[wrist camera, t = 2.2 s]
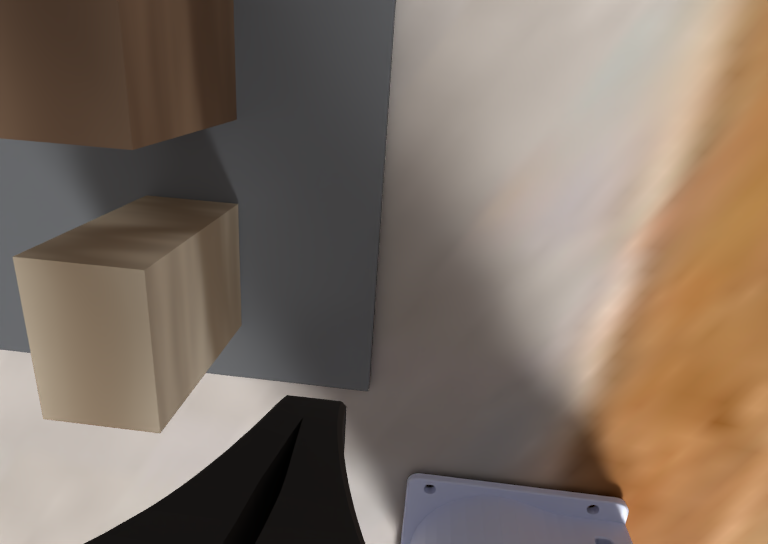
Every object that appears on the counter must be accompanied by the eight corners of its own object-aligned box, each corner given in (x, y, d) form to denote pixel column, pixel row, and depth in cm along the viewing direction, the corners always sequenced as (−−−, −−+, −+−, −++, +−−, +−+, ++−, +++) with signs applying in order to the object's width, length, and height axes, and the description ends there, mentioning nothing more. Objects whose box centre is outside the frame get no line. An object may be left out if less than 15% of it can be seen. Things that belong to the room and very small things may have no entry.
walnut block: (232, -43, 17) (108, -104, 11) (236, 119, 19) (132, 150, 13) (125, -50, 18) (-58, -114, 11) (140, 111, 20) (-10, 137, 13)
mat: (399, -49, 17) (397, -51, 17) (369, 385, 23) (368, 391, 23) (-107, -80, 18) (-118, -83, 18) (-14, 342, 24) (-21, 346, 24)
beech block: (239, 203, 20) (144, 270, 14) (242, 323, 22) (160, 433, 16) (148, 194, 21) (12, 256, 14) (158, 315, 22) (43, 418, 16)
